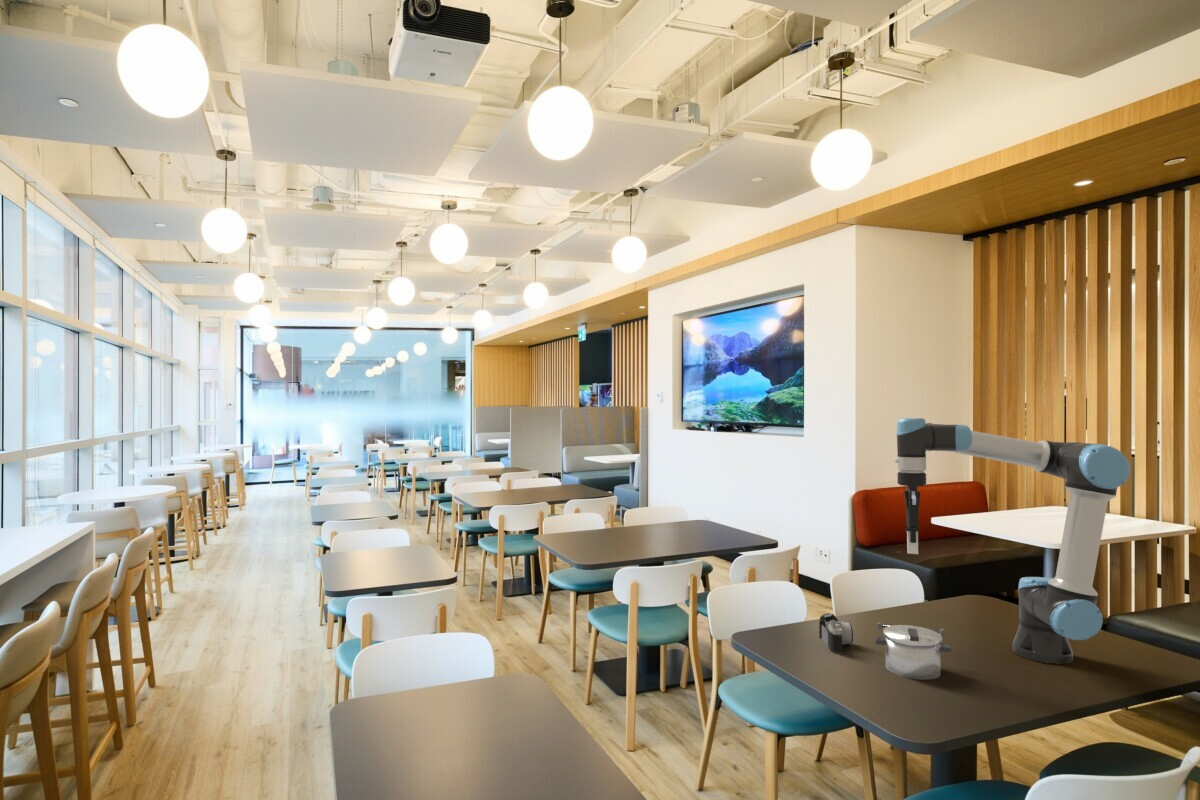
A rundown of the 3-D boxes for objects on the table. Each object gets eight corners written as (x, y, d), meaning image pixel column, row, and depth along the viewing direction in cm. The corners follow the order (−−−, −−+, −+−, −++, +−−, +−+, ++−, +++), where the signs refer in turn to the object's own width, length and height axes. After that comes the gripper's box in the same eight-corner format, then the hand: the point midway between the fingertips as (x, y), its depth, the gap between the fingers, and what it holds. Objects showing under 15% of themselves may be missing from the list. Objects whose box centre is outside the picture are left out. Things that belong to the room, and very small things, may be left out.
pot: (954, 685, 179) (953, 647, 179) (877, 676, 185) (876, 638, 185) (946, 664, 193) (945, 629, 193) (875, 656, 200) (874, 621, 200)
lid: (946, 651, 179) (945, 641, 179) (884, 644, 184) (884, 634, 184) (938, 632, 194) (938, 623, 194) (881, 627, 199) (881, 617, 199)
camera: (858, 656, 200) (858, 622, 200) (827, 655, 201) (827, 622, 201) (844, 638, 216) (844, 607, 216) (815, 637, 217) (815, 606, 217)
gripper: (895, 469, 201) (896, 547, 201) (899, 473, 189) (900, 557, 188) (923, 469, 198) (924, 549, 198) (928, 473, 186) (930, 559, 186)
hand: (912, 553), depth 193 cm, fingers closed
